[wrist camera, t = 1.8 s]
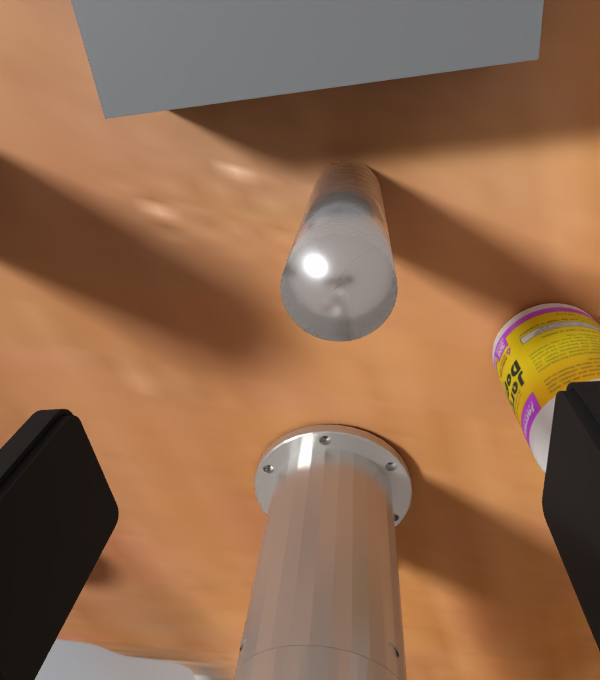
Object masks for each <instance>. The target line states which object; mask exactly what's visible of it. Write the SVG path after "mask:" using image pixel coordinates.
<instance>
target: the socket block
mask: <svg viewBox="0 0 600 680" xmlns="http://www.w3.org/2000/svg"><path fill="white" fill-rule="evenodd" d="M71 2H72V5H73V8H74V12H75V15H76V19H77V22H78V26H79V29H80V33H81V36H82V40H83V43H84V47H85V50H86V54H87V57H88V61H89V64H90V68H91V71H92V75H93V78H94V81H95V85H96V88H97V92H98V95H99V99H100V102H101V106H102V109H103V113H104V116H105V119H107V118H115V117H122V116H129V115H136V114H144V113H151V112H158V111H166V110H173V109H180V108H188V107H195V106H202V105H210V104H217V103H224V102H231V101H239V100H246V99H253V98H261V97H268V96H275V95H283V94H290V93H297V92H304V91H312V90H319V89H326V88H334V87H341V86H348V85H356V84H363V83H370V82H377V81H385V80H392V79H399V78H407V77H414V76H421V75H429V74H436V73H443V72H451V71H458V70H465V69H472V68H480V67H487V66H494V65H502V64H509V63H516V62H524V61H531V60H538V59H539V50H540V39H541V28H542V17H543V6H544V0H71Z"/></svg>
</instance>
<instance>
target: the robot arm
mask: <svg viewBox="0 0 600 680" xmlns="http://www.w3.org/2000/svg"><path fill="white" fill-rule="evenodd" d="M255 492H256V497H257V500H258V502H259V504H260V506H261V508H262V510H263V511H264V512H265V514H266V515H267V519H266V523H265V528H264V533H263V538H262V543H261V548H260V553H259V558H258V563H257V568H256V573H255V578H254V583H253V588H252V593H251V598H250V602H249V607H248V612H247V617H246V622H245V627H244V632H243V637H242V642H241V647H240V652H239V657H238V662H237V667H236V672H235V676H234V680H407V676H406V663H405V650H404V637H403V625H402V612H401V599H400V586H399V573H398V560H397V548H396V535H395V527H396V526H397V525H398V524H399V523H400V522H401V521H402V519H403V518H404V517H405V515H406V514H407V512H408V509H409V507H410V504H411V499H412V485H411V478H410V474H409V471H408V468H407V466H406V464H405V462H404V461H403V459H402V457H401V456H400V455H399V454H398V453H397V452H396V451H395V449H394V448H393V447H391V446H390V445H389V444H387V443H386V442H385V441H383V440H382V439H381V438H379V437H377V436H375V435H373V434H371V433H369V432H366V431H363V430H360V429H357V428H353V427H348V426H342V425H315V426H308V427H304V428H301V429H297V430H294V431H291V432H290V433H288V434H286V435H284V436H282V437H280V438H279V439H277V440H276V441H275V442H274V443H273V444H271V445H270V446H269V447H268V449H267V450H266V451H265V453H264V454H263V455H262V457H261V459H260V462H259V464H258V467H257V471H256V475H255ZM542 506H543V512H544V516H545V519H546V522H547V524H548V527H549V529H550V532H551V534H552V536H553V539H554V541H555V544H556V546H557V549H558V551H559V553H560V556H561V558H562V561H563V563H564V566H565V568H566V570H567V573H568V575H569V578H570V580H571V583H572V585H573V587H574V590H575V592H576V595H577V597H578V600H579V602H580V604H581V607H582V609H583V612H584V614H585V617H586V619H587V621H588V624H589V626H590V629H591V631H592V634H593V636H594V638H595V641H596V643H597V646H598V648H599V651H600V381H584V382H571V383H569V384H568V386H567V388H566V391H558V392H557V394H556V398H555V405H554V413H553V420H552V428H551V436H550V443H549V451H548V458H547V466H546V474H545V481H544V489H543V497H542ZM118 514H119V512H118V507H117V504H116V502H115V499H114V497H113V495H112V492H111V490H110V488H109V485H108V483H107V481H106V479H105V476H104V474H103V472H102V469H101V467H100V465H99V462H98V460H97V458H96V455H95V453H94V451H93V449H92V446H91V444H90V442H89V439H88V437H87V435H86V432H85V430H84V428H83V426H82V423H81V421H80V419H79V418H78V417H77V416H74V415H73V414H72V413H71V412H70V411H69V410H67V409H54V410H40V411H37V412H35V413H34V414H33V415H32V416H31V417H30V418H29V419H28V420H27V421H26V422H25V423H24V424H23V426H22V427H21V428H20V429H19V430H18V431H17V432H16V433H15V434H14V435H13V436H12V437H11V438H10V439H9V441H8V442H7V443H6V444H5V445H4V446H3V447H2V448H1V449H0V680H34V679H35V677H36V675H37V674H38V672H39V670H40V668H41V666H42V664H43V662H44V660H45V659H46V657H47V655H48V653H49V651H50V649H51V647H52V645H53V644H54V641H55V640H56V638H57V636H58V634H59V632H60V630H61V628H62V626H63V625H64V623H65V621H66V619H67V617H68V615H69V613H70V611H71V609H72V608H73V606H74V604H75V602H76V600H77V598H78V596H79V594H80V592H81V590H82V589H83V587H84V585H85V583H86V581H87V579H88V577H89V575H90V573H91V572H92V570H93V568H94V566H95V564H96V562H97V560H98V558H99V556H100V554H101V553H102V551H103V549H104V547H105V545H106V543H107V541H108V539H109V537H110V536H111V534H112V532H113V530H114V528H115V526H116V524H117V521H118Z"/></svg>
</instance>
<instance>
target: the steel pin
mask: <svg viewBox="0 0 600 680" xmlns="http://www.w3.org/2000/svg"><path fill="white" fill-rule="evenodd" d="M281 295H282V300H283V303H284V306H285V308H286V310H287V312H288V314H289V315H290V317H291V318H292V320H293V321H294V322H295V323H296V324H297V325H298V326H299V327H300V328H302V329H303V330H304V331H306V332H307V333H309V334H311V335H313V336H315V337H318V338H321V339H324V340H329V341H350V340H355V339H358V338H361V337H364V336H366V335H368V334H370V333H372V332H373V331H375V330H376V329H377V328H378V327H380V326H381V325H382V324H383V323H384V322H385V320H386V319H387V318H388V316H389V315H390V313H391V311H392V309H393V307H394V305H395V302H396V297H397V278H396V273H395V267H394V261H393V255H392V250H391V244H390V238H389V233H388V227H387V221H386V216H385V210H384V204H383V199H382V193H381V187H380V183H379V181H378V179H377V177H376V175H375V174H374V172H373V171H372V170H371V169H370V168H368V167H367V166H366V165H364V164H362V163H360V162H357V161H351V160H344V161H339V162H336V163H334V164H332V165H330V166H328V167H327V168H326V169H325V170H324V171H323V172H322V173H321V174H320V175H319V177H318V179H317V181H316V183H315V186H314V188H313V191H312V194H311V197H310V200H309V202H308V205H307V208H306V211H305V213H304V216H303V219H302V222H301V225H300V227H299V230H298V233H297V236H296V238H295V241H294V244H293V247H292V250H291V252H290V255H289V258H288V261H287V263H286V266H285V269H284V272H283V275H282V280H281Z"/></svg>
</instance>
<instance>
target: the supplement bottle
mask: <svg viewBox="0 0 600 680" xmlns="http://www.w3.org/2000/svg"><path fill="white" fill-rule="evenodd" d="M492 358H493V363H494V367H495V369H496V372H497V374H498V377H499V379H500V381H501V384H502V386H503V388H504V390H505V393H506V395H507V398H508V399H509V402H510V404H511V406H512V409H513V411H514V413H515V415H516V417H517V420H518V422H519V424H520V426H521V428H522V431H523V433H524V435H525V437H526V440H527V442H528V444H529V447H530V449H531V451H532V453H533V455H534V458H535V460H536V461H537V463H538V465H539V466H540V467H541V469H542V470H543V471H544V472H545V473H546V466H547V458H548V451H549V443H550V436H551V428H552V420H553V413H554V405H555V398H556V394H557V392H558V391H566V388H567V386H568V384H569V383H571V382H584V381H600V325H599V324H598V323H597V322H596V321H595V320H594V319H593V318H592V317H591V316H590V315H589V314H587V313H586V312H585V311H583V310H581V309H579V308H577V307H574V306H571V305H567V304H561V303H547V304H541V305H537V306H533V307H531V308H528V309H526V310H524V311H522V312H520V313H518V314H517V315H515V316H514V317H512V318H511V319H510V320H509V321H508V322H507V323H506V324H505V325H504V326H503V327H502V329H501V330H500V331H499V333H498V335H497V337H496V339H495V341H494V345H493V351H492Z"/></svg>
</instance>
